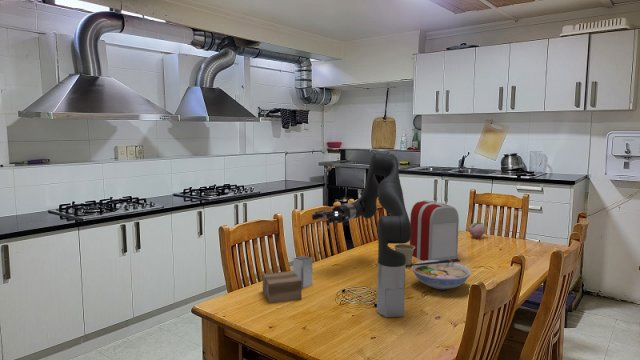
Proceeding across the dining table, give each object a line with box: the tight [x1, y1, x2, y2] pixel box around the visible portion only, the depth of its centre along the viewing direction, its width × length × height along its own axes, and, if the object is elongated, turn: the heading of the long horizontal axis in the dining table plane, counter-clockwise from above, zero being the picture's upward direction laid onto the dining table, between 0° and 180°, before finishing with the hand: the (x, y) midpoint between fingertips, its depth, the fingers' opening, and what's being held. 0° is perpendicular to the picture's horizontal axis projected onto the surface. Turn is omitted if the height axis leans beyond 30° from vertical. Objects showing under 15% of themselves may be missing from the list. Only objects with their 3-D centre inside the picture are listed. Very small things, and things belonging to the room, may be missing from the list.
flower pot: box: [393, 243, 415, 267], centre depth 202 cm, size 9×9×9 cm
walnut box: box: [262, 270, 303, 304], centre depth 165 cm, size 12×12×7 cm
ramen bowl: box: [405, 258, 472, 291], centre depth 175 cm, size 25×23×8 cm
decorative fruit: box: [468, 220, 486, 239], centre depth 253 cm, size 9×8×10 cm
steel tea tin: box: [292, 255, 313, 289], centre depth 176 cm, size 5×5×11 cm
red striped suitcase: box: [409, 199, 460, 261], centre depth 214 cm, size 16×18×27 cm
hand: (320, 218), depth 182 cm, fingers open, 8 cm apart
